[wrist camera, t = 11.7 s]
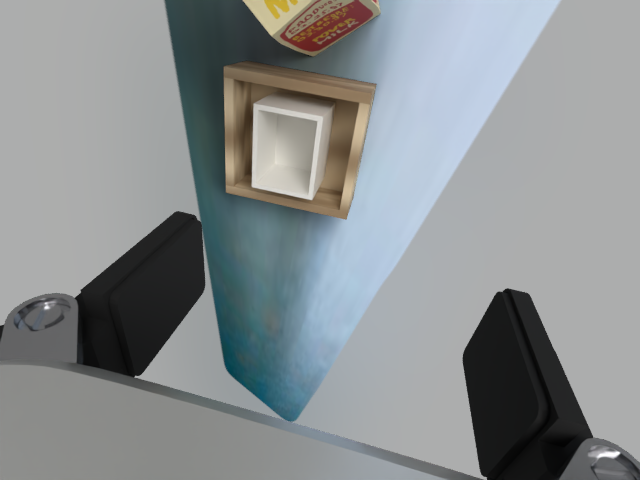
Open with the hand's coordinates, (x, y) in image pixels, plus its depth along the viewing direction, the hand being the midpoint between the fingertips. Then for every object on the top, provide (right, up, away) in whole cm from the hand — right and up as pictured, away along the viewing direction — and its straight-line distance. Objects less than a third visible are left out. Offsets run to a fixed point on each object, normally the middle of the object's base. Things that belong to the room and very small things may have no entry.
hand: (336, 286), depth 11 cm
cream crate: (-3, +14, +31) cm, 34 cm away
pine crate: (-3, +14, +32) cm, 35 cm away
